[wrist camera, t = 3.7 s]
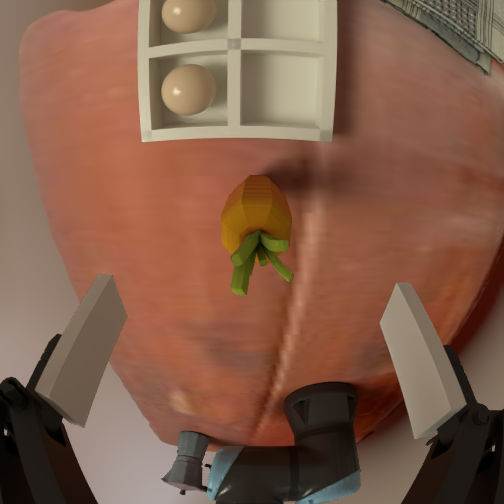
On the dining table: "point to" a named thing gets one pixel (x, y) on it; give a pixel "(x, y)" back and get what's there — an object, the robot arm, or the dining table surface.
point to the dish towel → (462, 26)
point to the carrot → (256, 229)
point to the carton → (245, 70)
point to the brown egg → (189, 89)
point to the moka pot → (188, 463)
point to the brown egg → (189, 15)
